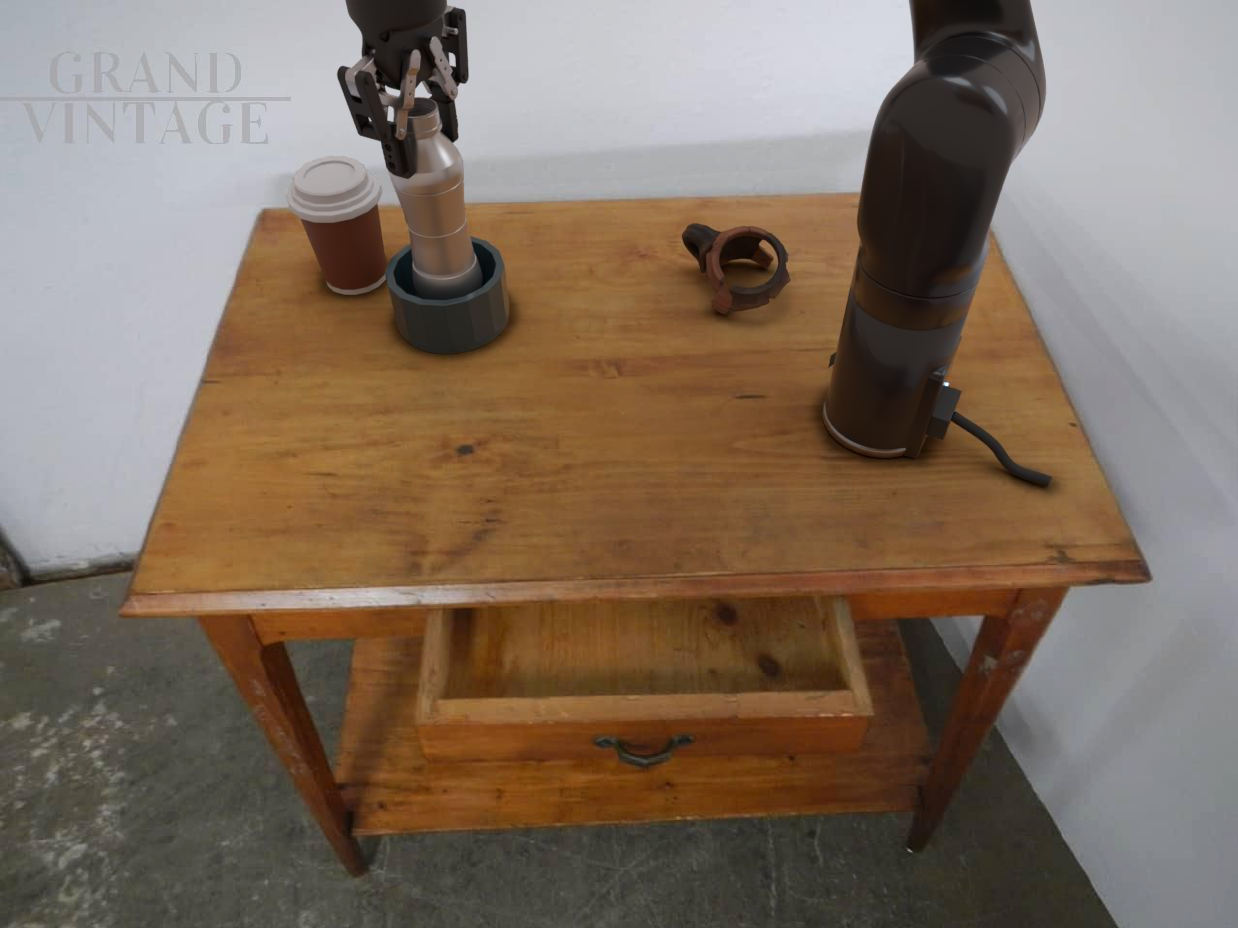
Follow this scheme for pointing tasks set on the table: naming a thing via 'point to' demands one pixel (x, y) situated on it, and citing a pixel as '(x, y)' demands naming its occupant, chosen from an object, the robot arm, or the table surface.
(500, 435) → the table surface
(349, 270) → the coffee cup
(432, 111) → the tan bottle
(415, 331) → the bowl
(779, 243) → the brown ring bracket
